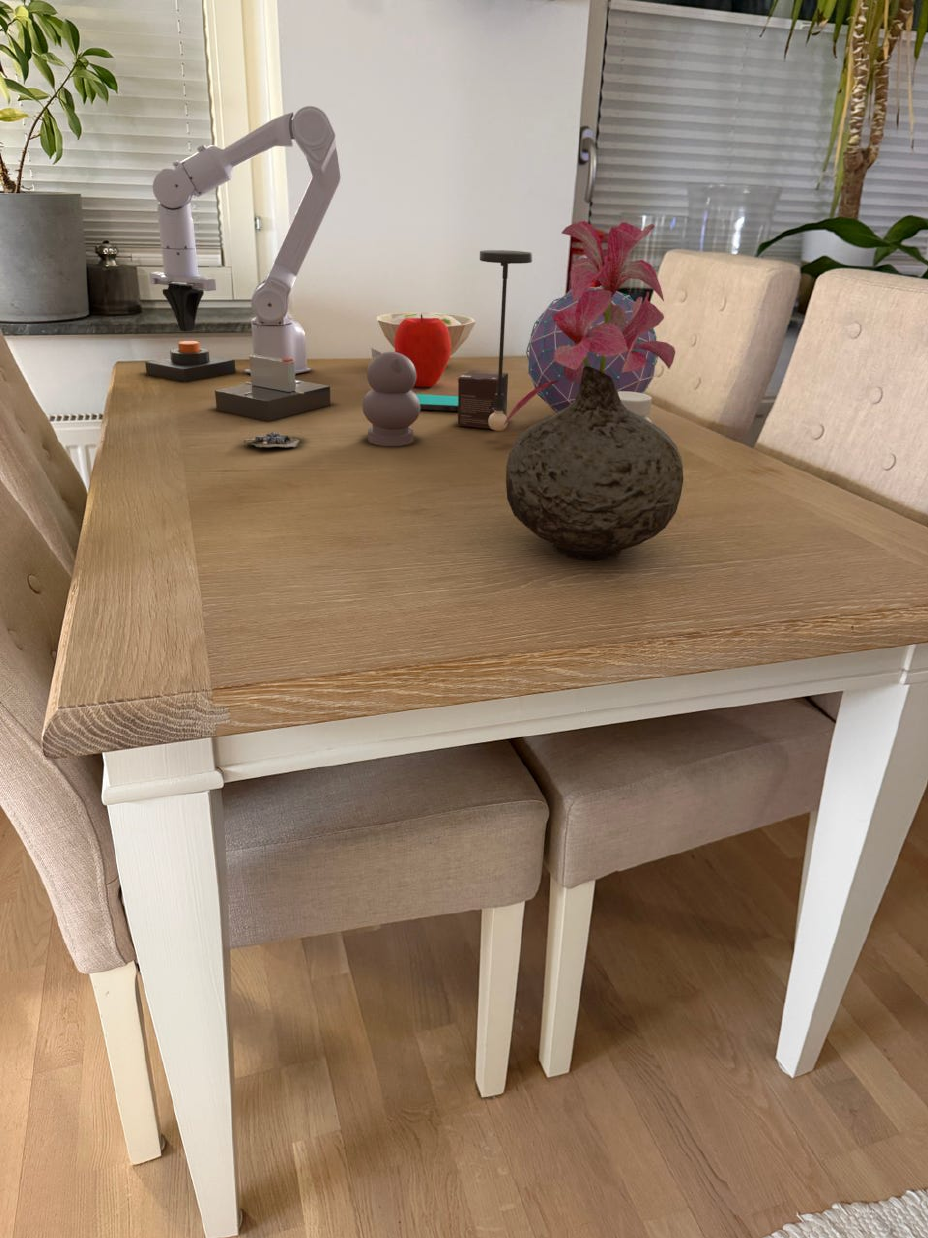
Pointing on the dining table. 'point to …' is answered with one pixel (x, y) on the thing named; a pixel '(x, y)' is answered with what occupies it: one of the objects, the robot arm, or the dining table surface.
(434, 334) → the apple
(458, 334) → the bowl
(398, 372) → the cat figurine
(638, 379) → the decorative sphere
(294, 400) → the tile base
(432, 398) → the smartphone
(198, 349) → the button
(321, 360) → the dining table surface
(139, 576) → the dining table surface
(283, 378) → the upright gray tile
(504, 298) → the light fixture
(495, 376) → the box
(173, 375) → the control block
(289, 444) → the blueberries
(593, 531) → the vase
